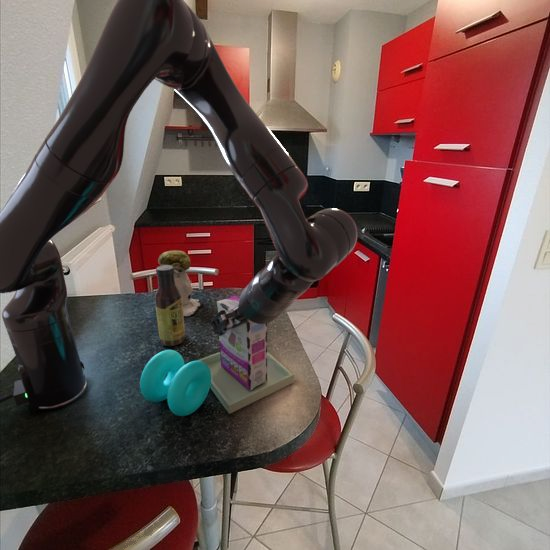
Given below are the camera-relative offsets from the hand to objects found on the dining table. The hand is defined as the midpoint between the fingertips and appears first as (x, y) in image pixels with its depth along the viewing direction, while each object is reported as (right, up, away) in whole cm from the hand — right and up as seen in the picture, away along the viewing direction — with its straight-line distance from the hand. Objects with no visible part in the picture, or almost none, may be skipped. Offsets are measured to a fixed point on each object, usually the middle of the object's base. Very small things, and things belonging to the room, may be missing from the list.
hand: (238, 325), depth 67 cm
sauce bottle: (-18, -7, +16) cm, 25 cm away
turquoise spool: (-11, -15, -4) cm, 19 cm away
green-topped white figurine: (-22, 0, +32) cm, 39 cm away
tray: (+1, -11, +3) cm, 12 cm away
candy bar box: (+1, -11, +3) cm, 12 cm away
